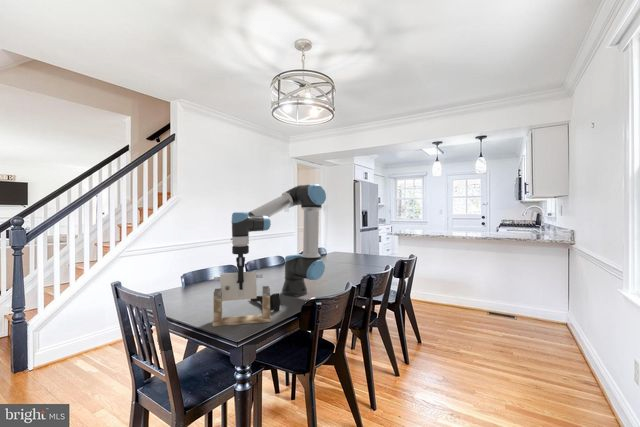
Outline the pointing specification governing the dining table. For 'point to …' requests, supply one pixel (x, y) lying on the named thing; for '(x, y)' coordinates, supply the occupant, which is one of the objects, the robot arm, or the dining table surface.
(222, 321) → the hinge frame
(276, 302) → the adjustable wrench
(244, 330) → the dining table surface
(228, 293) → the cabinet door
